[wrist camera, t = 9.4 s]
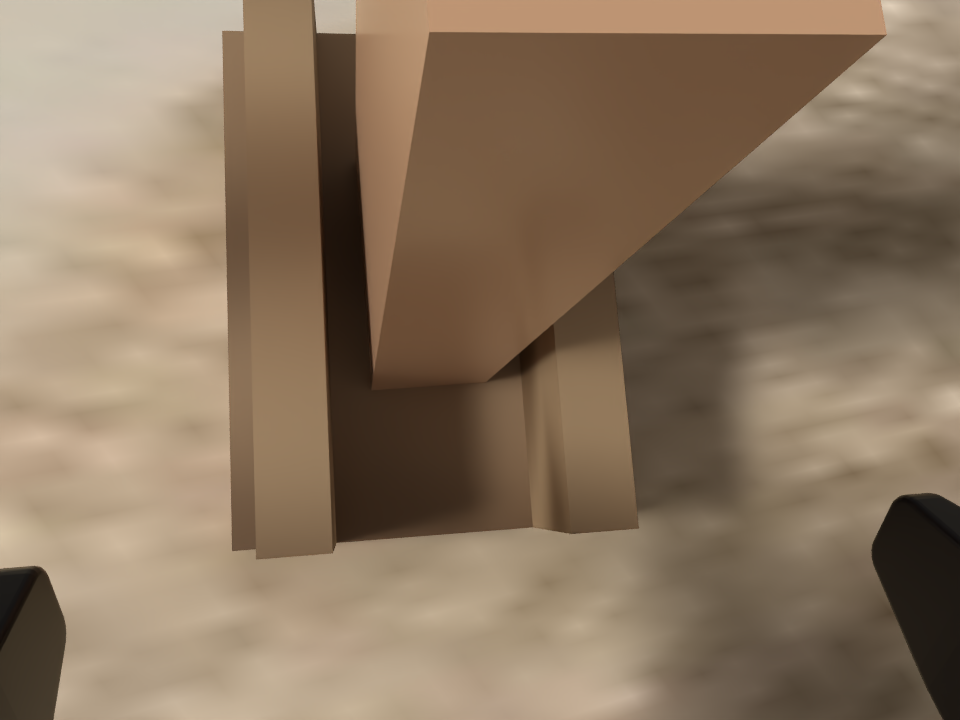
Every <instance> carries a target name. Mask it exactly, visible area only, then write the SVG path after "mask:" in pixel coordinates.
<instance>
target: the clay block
mask: <svg viewBox="0 0 960 720" xmlns="http://www.w3.org/2000/svg"><path fill="white" fill-rule="evenodd" d="M886 35H887V33H886V28H885V22H884V17H883V12H882V6H881V1H880V0H356V115H355V164H356V179H357V193H358V208H359V222H360V237H361V251H362V266H363V281H364V295H365V310H366V324H367V339H368V353H369V368H370V382H371V390H382V389H397V388H411V387H426V386H440V385H455V384H469V383H484V382H486V381H488V380H489V379H490V378H491V377H492V376H493V375H494V374H496V373H497V372H498V371H499V370H500V369H501V368H503V367H504V366H505V365H506V364H507V363H508V362H509V361H511V360H512V359H513V358H514V357H515V356H516V355H518V354H519V353H520V352H521V351H522V350H523V349H524V348H526V347H527V346H528V345H529V344H530V343H531V342H533V341H534V340H535V339H536V338H537V337H538V336H540V335H541V334H542V333H543V332H544V331H545V330H546V329H548V328H549V327H550V326H551V325H552V324H553V323H555V322H556V321H557V320H558V319H559V318H560V317H561V316H563V315H564V314H565V313H566V312H567V311H568V310H570V309H571V308H572V307H573V306H574V305H575V304H576V303H578V302H579V301H580V300H581V299H582V298H583V297H585V296H586V295H587V294H588V293H589V292H590V291H591V290H593V289H594V288H595V287H596V286H597V285H598V284H600V283H601V282H602V281H603V280H604V279H605V278H606V277H608V276H609V275H610V274H611V273H612V272H613V271H615V270H616V269H617V268H618V267H619V266H620V265H621V264H623V263H624V262H625V261H626V260H627V259H628V258H630V257H631V256H632V255H633V254H634V253H635V252H636V251H638V250H639V249H640V248H641V247H642V246H643V245H645V244H646V243H647V242H648V241H649V240H650V239H651V238H653V237H654V236H655V235H656V234H657V233H658V232H660V231H661V230H662V229H663V228H664V227H665V226H666V225H668V224H669V223H670V222H671V221H672V220H673V219H675V218H676V217H677V216H678V215H679V214H680V213H681V212H683V211H684V210H685V209H686V208H687V207H688V206H690V205H691V204H692V203H693V202H694V201H695V200H697V199H698V198H699V197H700V196H701V195H702V194H703V193H705V192H706V191H707V190H708V189H709V188H710V187H712V186H713V185H714V184H715V183H716V182H717V181H718V180H720V179H721V178H722V177H723V176H724V175H725V174H727V173H728V172H729V171H730V170H731V169H732V168H733V167H735V166H736V165H737V164H738V163H739V162H740V161H742V160H743V159H744V158H745V157H746V156H747V155H748V154H750V153H751V152H752V151H753V150H754V149H755V148H757V147H758V146H759V145H760V144H761V143H762V142H763V141H765V140H766V139H767V138H768V137H769V136H770V135H772V134H773V133H774V132H775V131H776V130H777V129H778V128H780V127H781V126H782V125H783V124H784V123H785V122H787V121H788V120H789V119H790V118H791V117H792V116H793V115H795V114H796V113H797V112H798V111H799V110H800V109H802V108H803V107H804V106H805V105H806V104H807V103H808V102H810V101H811V100H812V99H813V98H814V97H815V96H817V95H818V94H819V93H820V92H821V91H822V90H823V89H825V88H826V87H827V86H828V85H829V84H830V83H832V82H833V81H834V80H835V79H836V78H837V77H838V76H840V75H841V74H842V73H843V72H844V71H845V70H847V69H848V68H849V67H850V66H851V65H852V64H854V63H855V62H856V61H857V60H858V59H859V58H860V57H862V56H863V55H864V54H865V53H866V52H867V51H869V50H870V49H871V48H872V47H873V46H874V45H875V44H877V43H878V42H879V41H880V40H881V39H882V38H884V37H885V36H886Z"/></svg>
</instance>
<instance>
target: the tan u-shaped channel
mask: <svg viewBox="0 0 960 720" xmlns="http://www.w3.org/2000/svg"><path fill="white" fill-rule="evenodd" d="M243 20H244V31H222V38H223V91H224V143H225V196H226V249H227V301H228V354H229V407H230V459H231V512H232V551H238V550H250V549H256V559H267V558H280V557H292V556H304V555H317V554H329V553H333V551H334V548H335V546H336V543H339V542H352V541H364V540H377V539H390V538H402V537H415V536H428V535H441V534H453V533H466V532H479V531H491V530H504V529H517V528H529V527H535V528H540V529H546V530H552V531H558V532H564V533H569V534H576V533H589V532H601V531H613V530H626V529H638V528H639V526H638V516H637V506H636V496H635V485H634V475H633V465H632V455H631V445H630V435H629V424H628V414H627V404H626V394H625V384H624V374H623V363H622V353H621V343H620V333H619V323H618V313H617V302H616V292H615V282H614V272H612V273H611V274H610V275H609V276H608V277H606V278H605V279H604V280H603V281H602V282H601V283H600V284H598V285H597V286H596V287H595V288H594V289H593V290H591V291H590V292H589V293H588V294H587V295H586V296H585V297H583V298H582V299H581V300H580V301H579V302H578V303H576V304H575V305H574V306H573V307H572V308H571V309H570V310H568V311H567V312H566V313H565V314H564V315H563V316H561V317H560V318H559V319H558V320H557V321H556V322H555V323H553V324H552V325H551V326H550V327H549V328H548V329H546V330H545V331H544V332H543V333H542V334H541V335H540V336H538V337H537V338H536V339H535V340H534V341H533V342H531V343H530V344H529V345H528V346H527V347H526V348H524V349H523V350H522V351H521V352H520V353H519V354H518V355H516V356H515V357H514V358H513V359H512V360H511V361H509V362H508V363H507V364H506V365H505V366H504V367H503V368H501V369H500V370H499V371H498V372H497V373H496V374H494V375H493V376H492V377H491V378H490V379H489V380H488V381H486V382H484V383H469V384H455V385H440V386H426V387H411V388H397V389H382V390H371V382H370V368H369V353H368V339H367V324H366V310H365V295H364V281H363V266H362V251H361V237H360V222H359V208H358V193H357V179H356V164H355V115H356V34H329V33H317V32H316V20H315V7H314V0H243Z"/></svg>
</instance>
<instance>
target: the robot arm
mask: <svg viewBox="0 0 960 720" xmlns="http://www.w3.org/2000/svg"><path fill="white" fill-rule="evenodd" d="M871 551H872V560H873V564H874V567H875V570H876V572H877V574H878V577H879V579H880V581H881V584H882V586H883V588H884V591H885V593H886V595H887V598H888V600H889V602H890V605H891V607H892V610H893V612H894V614H895V617H896V619H897V621H898V624H899V626H900V628H901V631H902V633H903V635H904V638H905V640H906V642H907V645H908V647H909V649H910V652H911V654H912V656H913V659H914V661H915V663H916V666H917V668H918V670H919V672H920V675H921V677H922V679H923V681H924V683H925V685H926V688H927V690H928V692H929V694H930V696H931V698H932V700H933V701H934V703H935V705H936V707H937V709H938V711H939V713H940V715H941V717H942V719H943V720H960V507H959V506H958V505H956V504H954V503H952V502H951V501H949V500H947V499H945V498H944V497H942V496H940V495H937V494H932V493H922V494H910V495H902V496H899V497H898V498H897V499H895V500H894V502H893V503H892V505H891V507H890V509H889V511H888V513H887V515H886V517H885V519H884V521H883V523H882V525H881V527H880V529H879V531H878V533H877V535H876V537H875V539H874V541H873V544H872V550H871ZM65 643H66V625H65V620H64V616H63V614H62V611H61V608H60V606H59V603H58V600H57V598H56V595H55V592H54V590H53V587H52V585H51V582H50V579H49V577H48V575H47V573H46V571H45V570H44V569H43V568H41V567H38V566H27V567H15V568H4V569H0V720H53V719H54V713H55V706H56V700H57V694H58V688H59V682H60V675H61V669H62V663H63V657H64V650H65Z"/></svg>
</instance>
